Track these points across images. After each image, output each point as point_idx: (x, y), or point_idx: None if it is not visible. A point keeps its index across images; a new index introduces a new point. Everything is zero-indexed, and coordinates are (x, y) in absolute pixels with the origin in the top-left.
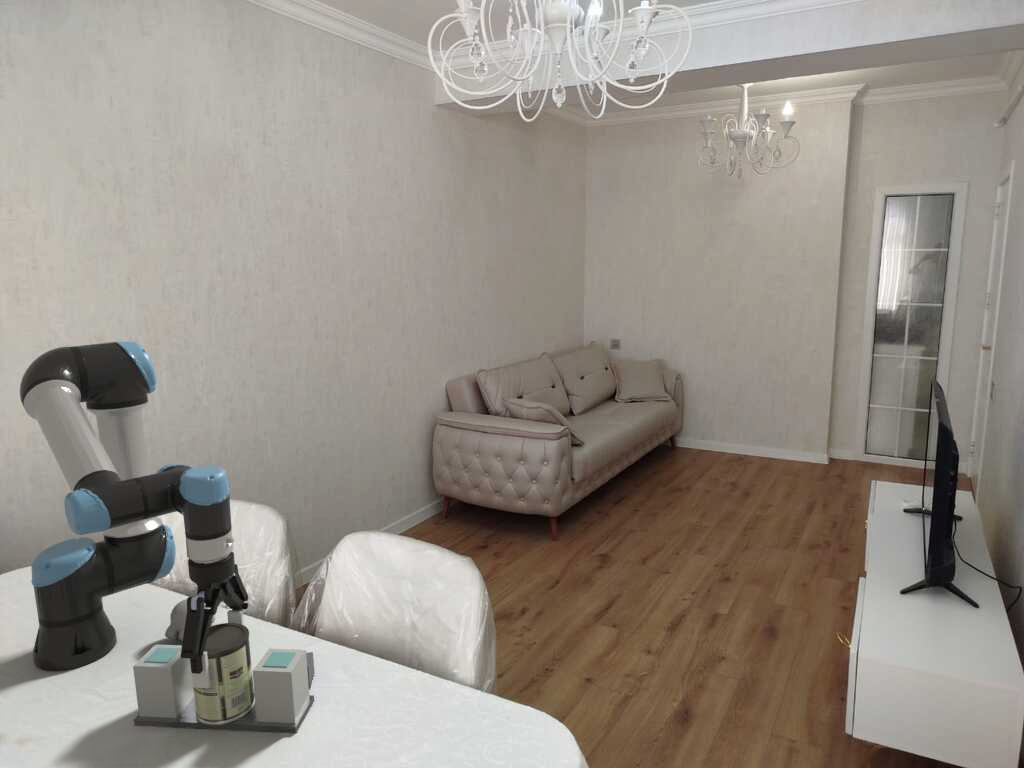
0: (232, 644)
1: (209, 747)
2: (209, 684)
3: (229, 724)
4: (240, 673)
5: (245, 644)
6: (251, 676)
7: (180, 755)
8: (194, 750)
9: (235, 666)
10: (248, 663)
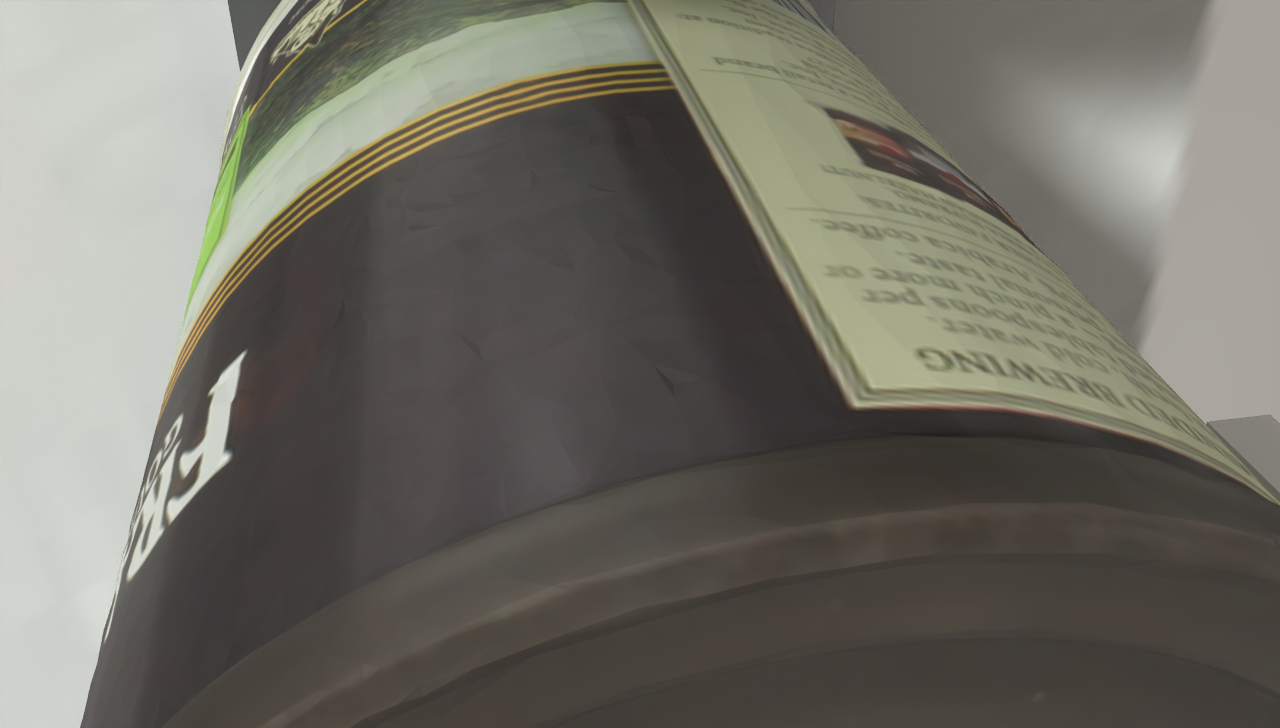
0: (1146, 699)
1: (1050, 61)
2: (1246, 437)
3: (831, 10)
4: (882, 133)
5: (834, 409)
6: (494, 17)
7: (1117, 250)
8: (1071, 172)
9: (1039, 267)
10: (650, 118)
